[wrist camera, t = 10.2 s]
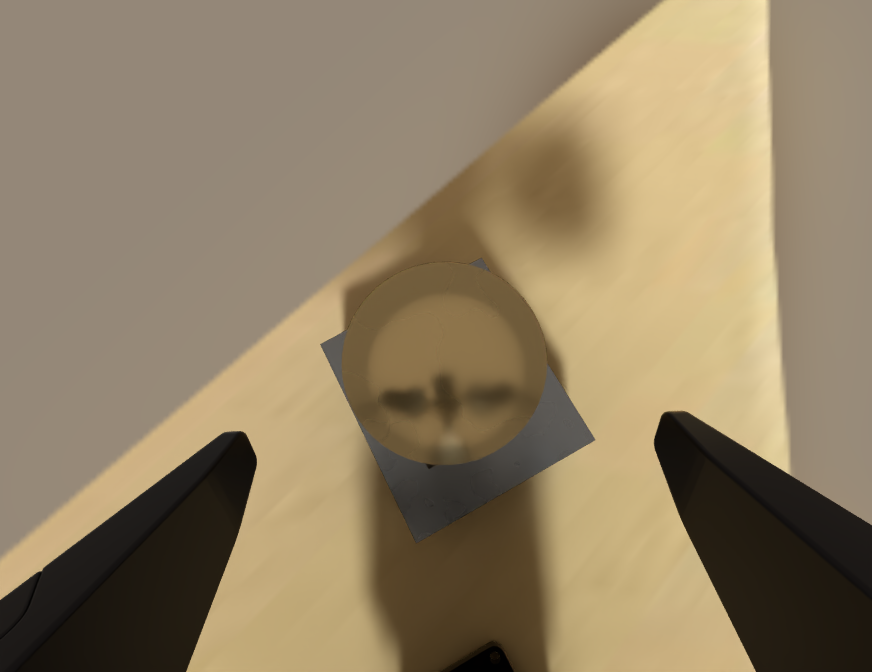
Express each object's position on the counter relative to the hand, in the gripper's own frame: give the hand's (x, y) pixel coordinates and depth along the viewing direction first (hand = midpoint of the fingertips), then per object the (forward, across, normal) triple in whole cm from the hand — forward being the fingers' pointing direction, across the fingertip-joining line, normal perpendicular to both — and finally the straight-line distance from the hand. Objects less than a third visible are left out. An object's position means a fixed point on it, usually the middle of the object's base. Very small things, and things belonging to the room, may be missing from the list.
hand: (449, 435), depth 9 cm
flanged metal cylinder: (+11, 0, +8) cm, 14 cm away
